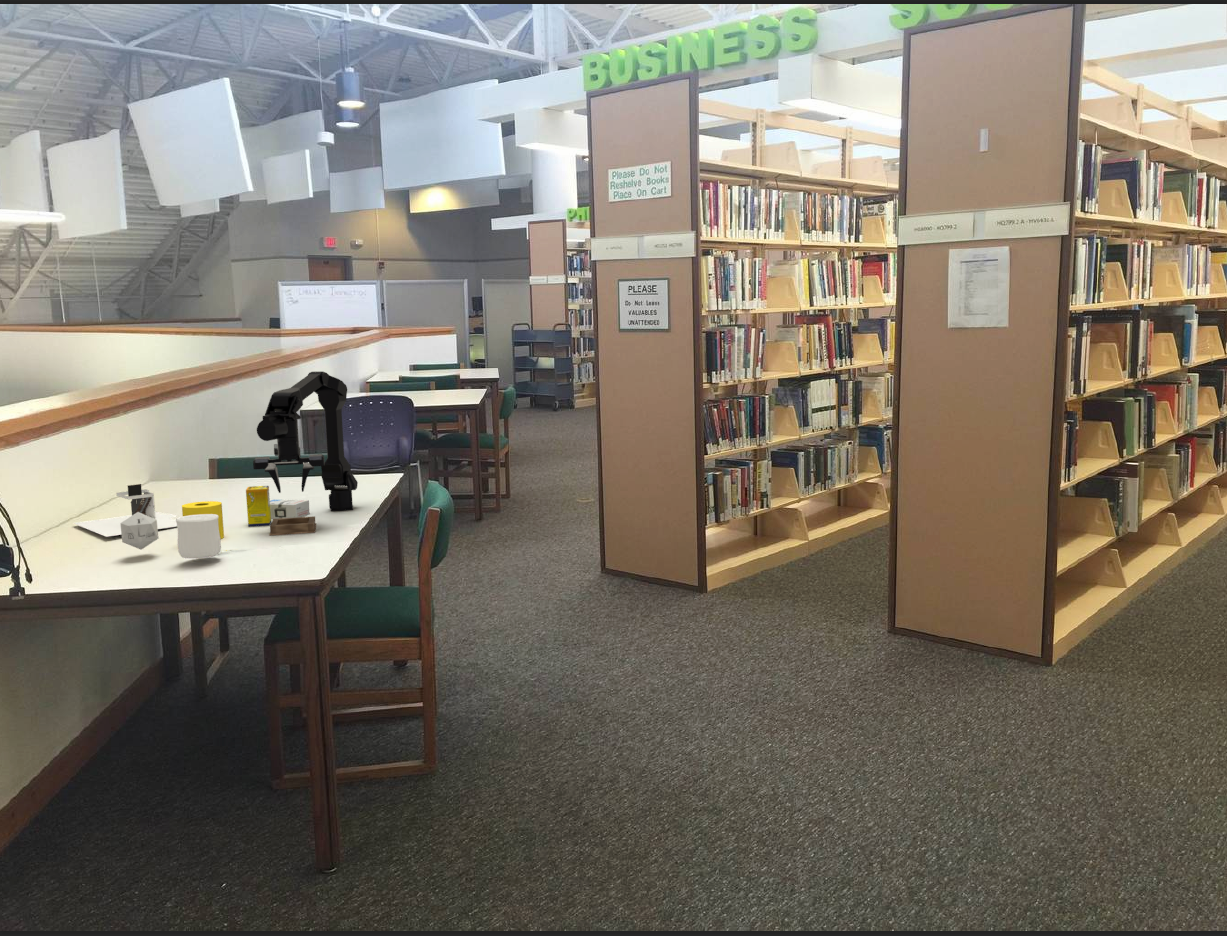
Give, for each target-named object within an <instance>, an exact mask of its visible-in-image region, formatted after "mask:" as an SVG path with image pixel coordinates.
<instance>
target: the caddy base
mask: <svg viewBox="0 0 1227 936" xmlns="http://www.w3.org/2000/svg"><path fill="white" fill-rule="evenodd" d="M317 525H318V524H317V523H316V516H303V517H295V518H279V519H273V520H271V523H270V525H269V534H268V535H269V536H280V535H281V536H282V535H297V534H313V533H316V530H317V529H316V528H317Z"/></svg>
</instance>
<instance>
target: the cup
mask: <svg viewBox="0 0 1227 936" xmlns="http://www.w3.org/2000/svg"><path fill="white" fill-rule="evenodd" d="M218 517H219V516H218V515H216V514H199V515H189V516H183V515H182V516H177V518H176V519H175V520H176V523H177V526H176V528H177V549H178V554H179V556H180V557H181V558H183V559H205V558H206V559H207V558H210V557H216V556H218V555H219V554H220V553H221V551H222V550H221V549H222V543H221V541H222V540H221V539H220V534H219V526H218Z"/></svg>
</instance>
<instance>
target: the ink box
mask: <svg viewBox="0 0 1227 936" xmlns="http://www.w3.org/2000/svg"><path fill="white" fill-rule="evenodd" d="M270 512H271V519H279V518H295V517H306V516H308V515H310V514H311V513H310V501H309V499H272V500H270ZM307 514H308V515H307Z"/></svg>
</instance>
